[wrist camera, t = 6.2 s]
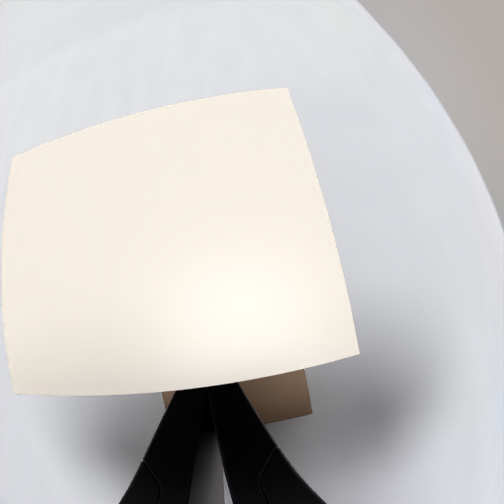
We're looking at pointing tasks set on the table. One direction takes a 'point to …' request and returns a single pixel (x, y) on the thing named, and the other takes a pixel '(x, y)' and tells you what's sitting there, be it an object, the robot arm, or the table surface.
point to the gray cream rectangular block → (171, 253)
